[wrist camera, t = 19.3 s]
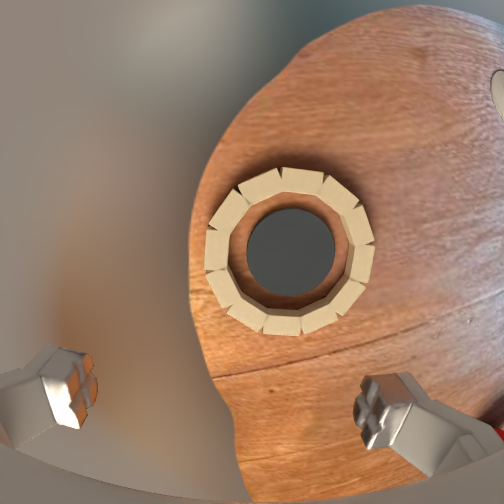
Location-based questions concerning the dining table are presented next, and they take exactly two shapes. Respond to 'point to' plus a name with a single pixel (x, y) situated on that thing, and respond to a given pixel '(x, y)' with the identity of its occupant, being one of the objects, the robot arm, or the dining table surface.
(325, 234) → the coaster
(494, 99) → the wineglass
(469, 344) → the dining table surface
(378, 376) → the robot arm
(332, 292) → the hoop
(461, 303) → the dining table surface
